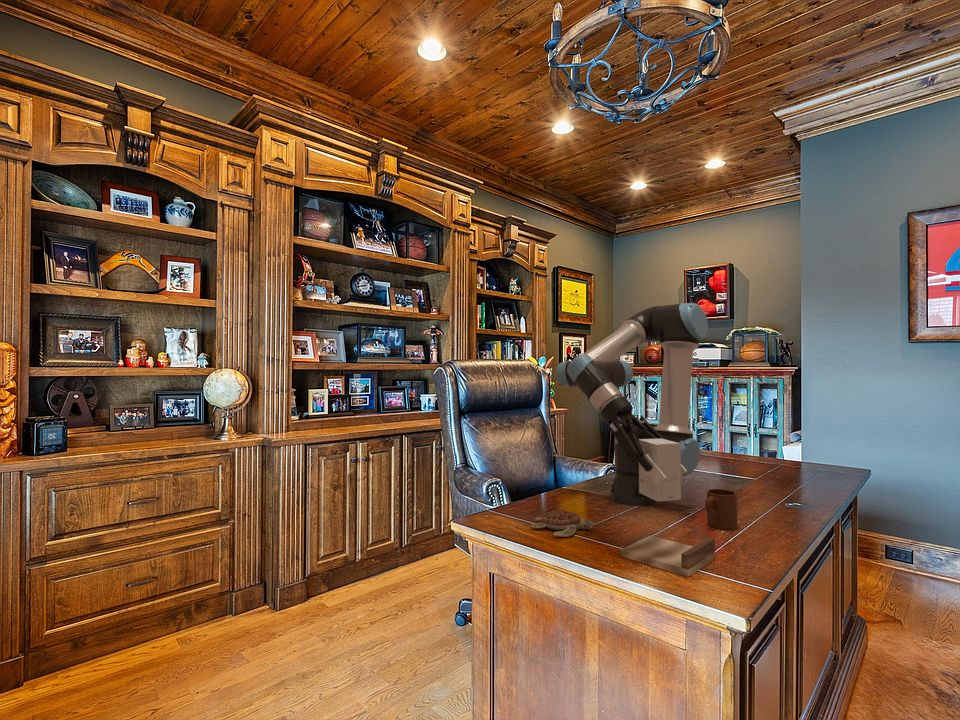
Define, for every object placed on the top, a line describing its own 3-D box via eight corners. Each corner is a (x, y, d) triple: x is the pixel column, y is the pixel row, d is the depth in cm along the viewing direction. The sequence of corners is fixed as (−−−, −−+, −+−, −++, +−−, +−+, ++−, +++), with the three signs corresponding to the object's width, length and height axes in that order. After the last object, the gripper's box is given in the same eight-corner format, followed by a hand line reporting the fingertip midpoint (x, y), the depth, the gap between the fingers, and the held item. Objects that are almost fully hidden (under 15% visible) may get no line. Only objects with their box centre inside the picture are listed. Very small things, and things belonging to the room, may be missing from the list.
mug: (721, 536, 130) (721, 500, 130) (693, 528, 136) (693, 494, 136) (742, 526, 137) (742, 492, 137) (715, 520, 143) (714, 487, 143)
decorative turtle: (591, 543, 127) (591, 523, 127) (527, 537, 131) (526, 518, 131) (595, 521, 144) (595, 504, 144) (538, 517, 149) (538, 500, 149)
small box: (682, 500, 113) (681, 443, 113) (656, 502, 112) (656, 444, 112) (662, 491, 121) (661, 437, 121) (638, 493, 120) (637, 438, 120)
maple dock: (620, 556, 117) (620, 537, 117) (649, 541, 126) (649, 523, 126) (688, 576, 105) (688, 555, 105) (714, 558, 115) (714, 539, 115)
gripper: (625, 411, 136) (683, 479, 124) (577, 418, 121) (637, 496, 109) (643, 392, 132) (704, 461, 120) (595, 397, 117) (659, 475, 105)
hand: (672, 477), depth 114 cm, fingers closed on small box, 9 cm apart
